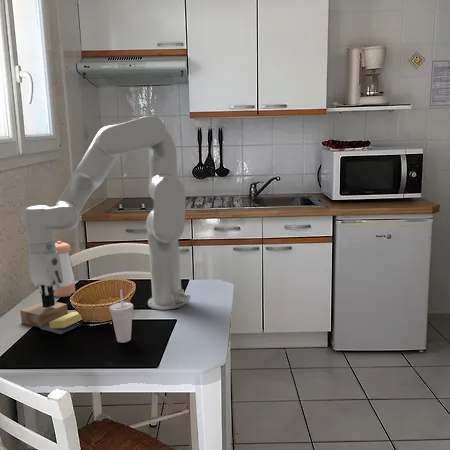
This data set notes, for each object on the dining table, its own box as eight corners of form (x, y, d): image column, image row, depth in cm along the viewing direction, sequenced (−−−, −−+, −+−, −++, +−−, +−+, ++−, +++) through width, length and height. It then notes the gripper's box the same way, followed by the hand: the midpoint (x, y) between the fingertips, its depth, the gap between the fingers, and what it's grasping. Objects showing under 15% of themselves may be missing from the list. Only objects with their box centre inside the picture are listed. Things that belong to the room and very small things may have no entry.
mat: (89, 320, 149) (89, 319, 149) (60, 334, 140) (60, 333, 140) (70, 316, 154) (69, 315, 154) (40, 328, 145) (40, 327, 145)
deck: (68, 316, 154) (66, 304, 153) (41, 327, 145) (39, 315, 145) (48, 311, 158) (47, 299, 158) (21, 322, 150) (20, 310, 149)
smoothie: (139, 335, 137) (136, 287, 134) (129, 345, 131) (125, 295, 128) (119, 334, 139) (115, 286, 136) (107, 343, 133) (103, 293, 130)
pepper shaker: (54, 291, 179) (49, 239, 175) (75, 289, 180) (70, 238, 177) (53, 298, 172) (47, 244, 168) (75, 295, 173) (69, 242, 170)
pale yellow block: (86, 310, 148) (87, 317, 148) (73, 311, 151) (74, 318, 151) (62, 321, 140) (64, 327, 141) (49, 322, 144) (50, 328, 144)
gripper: (69, 246, 145) (75, 306, 149) (36, 242, 153) (43, 298, 157) (48, 252, 139) (55, 314, 143) (15, 247, 147) (22, 306, 151)
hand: (48, 306), depth 150 cm, fingers closed
